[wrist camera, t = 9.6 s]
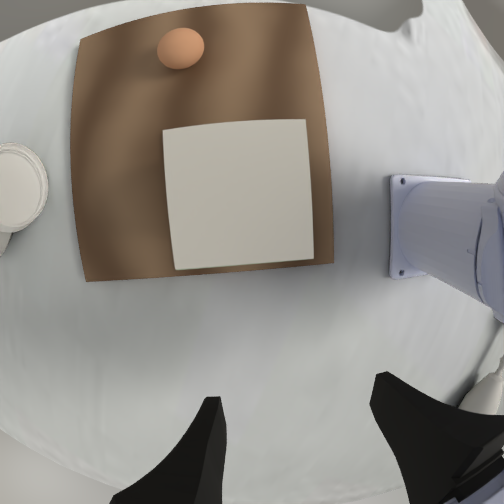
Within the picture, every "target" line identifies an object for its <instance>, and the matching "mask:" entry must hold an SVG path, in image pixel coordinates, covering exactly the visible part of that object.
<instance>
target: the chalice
mask: <svg viewBox="0 0 504 504" xmlns="http://www.w3.org/2000/svg"><path fill="white" fill-rule="evenodd" d="M503 369H504V355H503V357H502V358H500V364H499V367H498V369H497V370H496V372H495V373H489V374H488V375H487V376H486V377H484V378H483V379H482V380H481V381H480V382H479V383H478V384H476V385H475V386H474V387H473V388H472V389H471V390H470V391H469V392H468V393H467V394H466V395H465V397H464V399H463V400H462V402H461V404H460V405H459V407H458V409H462V410H466V411H469V412H474V413H480V414H487V415H495V413H496V412H497V410H498V406H499V403H500V400H501V395H502V389H503V383H504V380H503V378H502V376H501V374H502V371H503Z"/></svg>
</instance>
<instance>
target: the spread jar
mask: <svg viewBox="0 0 504 504" xmlns="http://www.w3.org/2000/svg"><path fill="white" fill-rule="evenodd" d="M47 196H48V178H47V174H46V170H45V168H44V165H43V164H42V162H41V160H40V159H39V157H38V156H37V155H36V154H35V153H34V152H33V151H32V150H30V149H29V148H27V147H26V146H24V145H21V144H18V143H5V144H2V145H0V257H1V255H2V254H3V253H4V251H5V249H6V248H7V246H8V244H9V242H10V240H11V238H12V235H13V233H14V232H17V231H20V230H22V229H24V228H25V227H27V226H29V225H30V224H31V222H33V221H34V220H35V218H36V217H37V216H38V215H39V214H40V213H41V211H42V210H43V208H44V206H45V203H46V201H47Z"/></svg>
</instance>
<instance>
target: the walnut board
mask: <svg viewBox="0 0 504 504" xmlns="http://www.w3.org/2000/svg"><path fill="white" fill-rule="evenodd" d="M177 28H189V29H192V30H194V31H196V32H197V33H198V34H199V35H200V36H201V37H202V39H203V42H204V51H203V54H202V56H201V58H200V59H199V60H198V61H197V62H196V63H195V64H194V65H192V66H190V67H188V68H185V69H172V68H169V67H167V66H165V65H164V64H163V63H162V62H161V61H160V60H159V57H158V54H157V47H158V44H159V41H160V40H161V38H162V37H163V36H164V35H165V34H166V33H168V32H169V31H171V30H174V29H177ZM276 119H306V129H307V140H308V152H309V165H310V179H311V196H312V216H313V247H314V259H306V260H295V261H284V262H272V263H261V264H249V265H237V266H225V267H212V268H199V269H186V270H176V269H175V264H174V257H173V249H172V242H171V233H170V224H169V215H168V205H167V194H166V181H165V167H164V150H163V130H168V129H174V128H181V127H188V126H196V125H204V124H213V123H224V122H236V121H251V120H276ZM70 154H71V180H72V194H73V205H74V214H75V222H76V229H77V236H78V243H79V249H80V254H81V260H82V265H83V270H84V275H85V279H86V282H93V281H111V280H128V279H144V278H159V277H173V276H188V275H201V274H214V273H227V272H239V271H251V270H263V269H275V268H286V267H297V266H307V265H318V264H328V263H334V235H333V205H332V185H331V170H330V158H329V146H328V136H327V127H326V118H325V110H324V102H323V95H322V88H321V81H320V75H319V68H318V63H317V57H316V51H315V46H314V41H313V36H312V31H311V26H310V22H309V17H308V13H307V9H306V5H304V4H291V3H235V4H221V5H211V6H203V7H195V8H189V9H183V10H177V11H172V12H167V13H162V14H158V15H153V16H149V17H145V18H141V19H138V20H134V21H131V22H127V23H124V24H121V25H118V26H115V27H112V28H109V29H106V30H103V31H100V32H98V33H95V34H92V35H90V36H87V37H85V38H83V39H80V45H79V50H78V56H77V62H76V69H75V76H74V85H73V95H72V109H71V134H70Z"/></svg>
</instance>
